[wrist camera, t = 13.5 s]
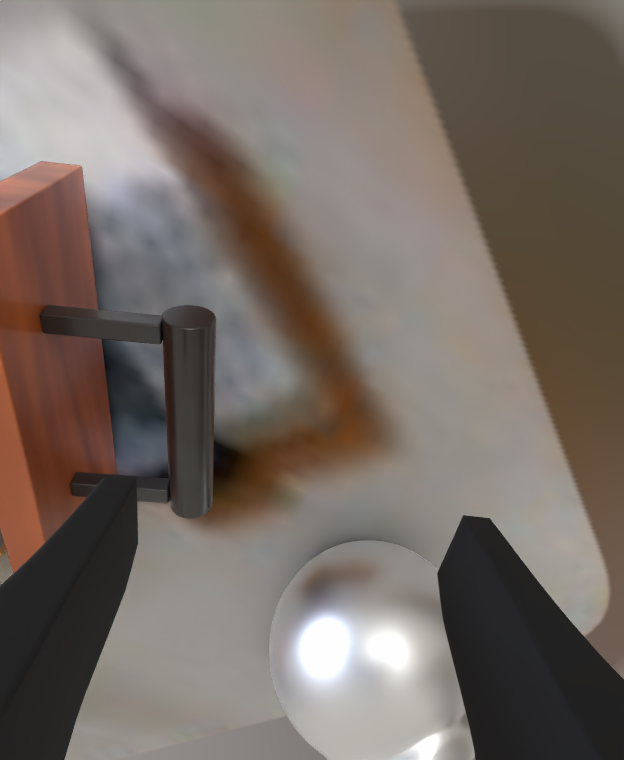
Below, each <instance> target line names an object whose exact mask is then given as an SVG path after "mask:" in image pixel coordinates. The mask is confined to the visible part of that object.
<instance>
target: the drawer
mask: <svg viewBox="0 0 624 760" xmlns="http://www.w3.org/2000/svg"><path fill="white" fill-rule="evenodd" d="M102 339H108V340H119V341H130V342H140V343H151V344H161V342H162V340H163V355H164V378H165V401H166V424H167V447H168V469H169V479H165V478H152V477H139V476H126V475H116V473H117V469H116V461H115V452H114V443H113V434H112V426H111V417H110V408H109V399H108V391H107V382H106V373H105V364H104V356H103V347H102ZM215 348H216V317H215V315H214V313H213V312H212V311H210V310H208V309H206V308H203V307H199V306H192V305H184V306H177V307H173V308H170V309H168V310H167V311H165V312H164V314H163V316H159V315H149V314H138V313H128V312H118V311H107V310H98V303H97V294H96V285H95V277H94V268H93V259H92V250H91V242H90V233H89V224H88V215H87V207H86V198H85V189H84V180H83V172H82V166H79V165H70V164H61V163H52V162H43V161H41V162H39V163H37V164H35V165H33V166H31V167H29V168H27V169H25V170H23V171H21V172H19V173H16V174H14V175H12V176H10V177H8V178H6V179H4V180H2V181H0V549H1V548H2V546H3V544H4V543H5V546H6V550H7V553H8V556H9V560H10V563H11V567H12V570H13V573H15V572H16V571H17V570H18V569H19V568H20V567H21V566H22V565H23V564H24V563H25V562H26V561H27V560H28V559H29V558H30V557H31V556H32V555H33V554H34V553H35V552H36V551H37V550H38V549H39V548H40V547H41V546H42V545H43V544H44V543H45V542H46V541H47V540H48V539H49V538H50V537H51V536H52V535H53V534H54V533H55V532H56V531H57V530H58V529H59V528H60V527H61V525H62V524H63V523H64V522H65V521H66V520H67V519H68V518H69V517H70V516H71V514H72V513H73V512H74V511H75V510H76V509H77V508H78V507H79V506H80V504H81V503H82V502H83V501H84V500H85V499H86V497H87V496H88V495H89V494H90V493H91V492H92V490H93V489H94V488H95V487H96V486H97V484H98V483H99V482H100V481H101V479H102V478H104V477H106V476H107V475H109V476H118V477H127V478H135V479H137V501H144V502H157V503H168V502H169V499H170V507H171V509H172V511H173V512H174V513H175V514H176V515H178V516H179V517H182V518H187V519H193V518H198V517H201V516H203V515H205V514H206V513H207V512H208V511H209V510H210V509H211V507H212V504H213V466H214V407H215Z"/></svg>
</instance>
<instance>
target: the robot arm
mask: <svg viewBox="0 0 624 760" xmlns="http://www.w3.org/2000/svg"><path fill="white" fill-rule="evenodd" d="M137 545H138V522H137V479H135V478H127V477H118V476H109V475H107V476H106V477H104V478H102V479H101V481H100V482H99V483H98V484H97V486H96V487H95V488H94V489H93V490H92V492H91V493H90V494H89V495H88V496H87V497H86V499H85V500H84V501H83V502H82V503H81V504H80V506H79V507H78V508H77V509H76V510H75V511H74V512H73V513H72V514H71V516H70V517H69V518H68V519H67V520H66V521H65V522H64V523H63V524H62V525H61V527H60V528H59V529H58V530H57V531H56V532H55V533H54V534H53V535H52V536H51V537H50V538H49V539H48V540H47V541H46V542H45V543H44V544H43V545H42V546H41V547H40V548H39V549H38V550H37V551H36V552H35V553H34V554H33V555H32V556H31V557H30V558H29V559H28V560H27V561H26V562H25V563H24V564H23V565H22V566H21V567H20V568H19V569H18V570H17V571H16V572H15V573H14V574H13V575H11V576H10V577H9V578H8V579H7V580H6V581H5V582H4V583H3V584H2V585H1V586H0V760H64V759H65V756H66V752H67V749H68V746H69V742H70V739H71V735H72V732H73V728H74V725H75V722H76V719H77V716H78V713H79V710H80V707H81V704H82V701H83V698H84V696H85V693H86V690H87V688H88V685H89V683H90V680H91V678H92V675H93V672H94V670H95V667H96V665H97V662H98V660H99V657H100V654H101V652H102V649H103V647H104V644H105V642H106V639H107V637H108V634H109V631H110V629H111V626H112V624H113V621H114V618H115V616H116V613H117V611H118V608H119V605H120V603H121V600H122V598H123V595H124V592H125V590H126V586H127V582H128V579H129V575H130V572H131V568H132V564H133V560H134V556H135V553H136V549H137ZM437 576H438V585H439V595H440V603H441V610H442V617H443V622H444V627H445V631H446V635H447V639H448V643H449V647H450V651H451V655H452V659H453V663H454V667H455V671H456V675H457V679H458V683H459V687H460V691H461V695H462V699H463V703H464V707H465V711H466V715H467V719H468V723H469V728H470V732H471V737H472V742H473V747H474V752H475V759H476V760H624V679H623V678H622V677H621V676H620V675H619V674H618V673H617V672H616V671H615V670H614V669H613V668H612V667H611V666H610V665H609V664H608V663H607V662H606V661H605V660H604V659H603V657H602V656H601V655H600V654H599V653H598V652H597V651H596V650H595V649H594V648H593V646H592V645H591V644H590V643H589V642H588V641H587V640H586V639H585V637H584V636H583V635H582V634H581V633H580V632H579V631H578V629H577V628H576V627H575V626H574V625H573V624H572V622H571V621H570V620H569V619H568V618H567V617H566V615H565V614H564V613H563V612H562V611H561V609H560V608H559V607H558V606H557V604H556V603H555V602H554V601H553V600H552V598H551V597H550V596H549V595H548V593H547V592H546V591H545V590H544V588H543V587H542V586H541V585H540V583H539V582H538V581H537V579H536V578H535V577H534V576H533V574H532V573H531V572H530V570H529V569H528V568H527V567H526V565H525V564H524V563H523V561H522V560H521V559H520V557H519V556H518V555H517V553H516V552H515V551H514V550H513V548H512V547H511V546H510V544H509V543H508V542H507V540H506V539H505V538H504V536H503V535H502V534H501V532H500V531H499V530H498V528H497V527H496V526H495V525H494V523H493V522H492V521H491V520H490V518H483V517H474V516H465V515H463V517H462V520H461V522H460V524H459V526H458V528H457V531H456V533H455V535H454V537H453V540H452V542H451V544H450V546H449V548H448V551H447V553H446V555H445V557H444V560H443V562H442V564H441V566H440V569H439V571H438V573H437Z"/></svg>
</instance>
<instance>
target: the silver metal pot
mask: <svg viewBox="0 0 624 760" xmlns="http://www.w3.org/2000/svg"><path fill="white" fill-rule="evenodd" d="M438 571H439V570H438V569H437V568H436V567H435V566H434V565H433V564H432V563H430V562H429V561H428V560H426V559H425V558H423V557H422V556H420V555H419V554H417V553H415V552H413V551H411V550H409V549H407V548H405V547H402V546H399V545H396V544H393V543H389V542H383V541H375V540H361V541H353V542H348V543H344V544H340V545H337V546H335V547H332V548H330V549H328V550H326V551H324V552H322V553H320V554H319V555H317V556H316V557H314V558H313V559H311V560H310V561H309V562H308V563H307V564H305V565H304V566H303V567H302V568H301V569H300V570H299V571H298V572H297V574H296V575H295V576H294V577H293V579H292V580H291V581H290V583H289V584H288V586H287V587H286V589H285V591H284V592H283V594H282V596H281V598H280V600H279V603H278V605H277V608H276V611H275V614H274V617H273V621H272V626H271V631H270V640H269V661H270V669H271V675H272V680H273V684H274V687H275V691H276V694H277V696H278V699H279V701H280V704H281V706H282V708H283V710H284V712H285V714H286V715H287V717H288V719H289V720H290V722H291V723H292V725H293V726H294V727H295V729H296V730H297V731H298V733H299V734H300V735H301V736H302V737H303V738H304V739H305V740H306V741H307V742H308V743H309V744H310V745H311V746H312V747H313V748H315V749H316V750H317V751H318V752H320V753H321V754H322V755H324V756H325V757H326V758H327V760H473V759H474V757H475V752H474V747H473V742H472V737H471V732H470V728H469V723H468V719H467V715H466V711H465V707H464V703H463V699H462V695H461V691H460V687H459V683H458V679H457V675H456V671H455V667H454V663H453V659H452V655H451V651H450V647H449V643H448V639H447V635H446V631H445V627H444V622H443V617H442V610H441V603H440V595H439V585H438V576H437V573H438Z"/></svg>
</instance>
